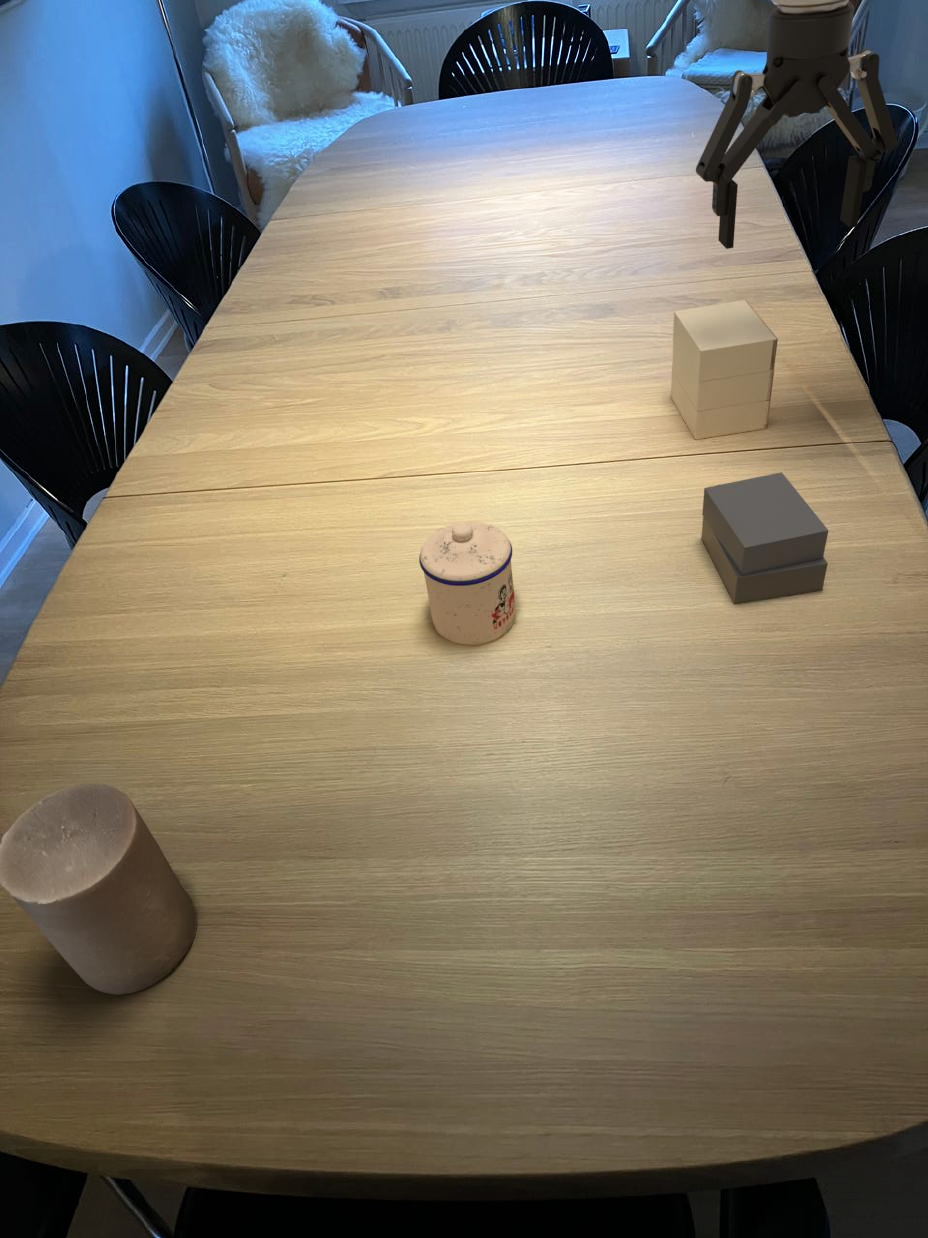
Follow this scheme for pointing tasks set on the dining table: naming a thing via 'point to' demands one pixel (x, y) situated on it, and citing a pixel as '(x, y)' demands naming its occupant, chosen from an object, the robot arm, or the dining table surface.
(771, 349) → the cream book
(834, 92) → the robot arm
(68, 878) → the pillar candle
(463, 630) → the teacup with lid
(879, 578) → the dining table surface
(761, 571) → the grey books
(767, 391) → the cream books
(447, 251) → the dining table surface
